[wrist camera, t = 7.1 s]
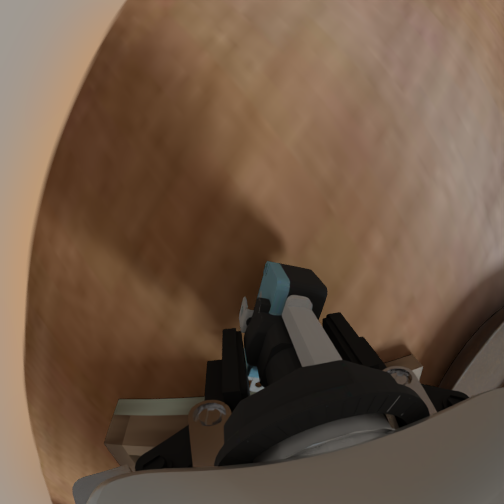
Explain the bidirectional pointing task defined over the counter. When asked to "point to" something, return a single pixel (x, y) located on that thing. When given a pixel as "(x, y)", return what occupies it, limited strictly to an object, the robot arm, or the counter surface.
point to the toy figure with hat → (304, 380)
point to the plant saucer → (479, 360)
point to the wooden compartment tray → (168, 420)
